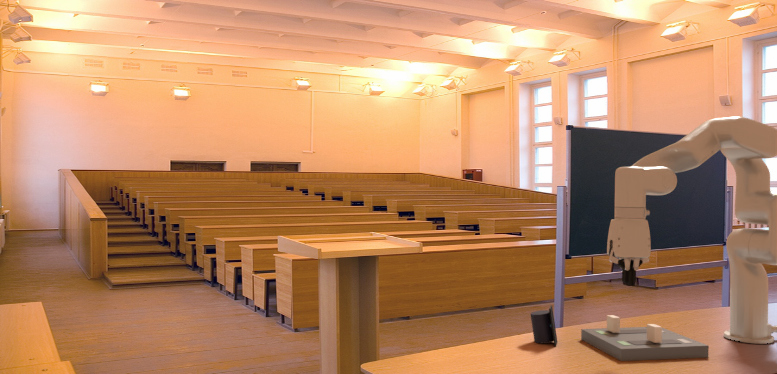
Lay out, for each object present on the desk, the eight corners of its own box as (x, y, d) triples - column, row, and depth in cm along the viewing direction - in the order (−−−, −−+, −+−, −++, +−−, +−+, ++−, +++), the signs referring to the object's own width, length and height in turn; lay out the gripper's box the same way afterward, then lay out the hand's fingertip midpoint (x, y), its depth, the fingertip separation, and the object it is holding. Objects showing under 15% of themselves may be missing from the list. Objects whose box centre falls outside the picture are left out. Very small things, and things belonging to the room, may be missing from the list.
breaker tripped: (653, 339, 169) (653, 323, 169) (661, 342, 165) (661, 326, 165) (646, 339, 168) (646, 324, 168) (654, 342, 165) (654, 327, 165)
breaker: (613, 329, 180) (613, 315, 180) (619, 332, 176) (619, 317, 176) (606, 329, 180) (606, 315, 180) (613, 332, 176) (613, 318, 176)
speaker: (564, 341, 178) (560, 304, 178) (555, 347, 174) (551, 308, 174) (539, 340, 183) (535, 304, 183) (530, 345, 178) (526, 308, 179)
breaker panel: (659, 336, 186) (659, 326, 185) (708, 357, 164) (708, 345, 164) (581, 339, 182) (581, 328, 182) (621, 360, 160) (621, 348, 160)
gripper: (648, 213, 170) (647, 282, 170) (595, 213, 168) (594, 283, 168) (664, 215, 163) (663, 287, 163) (610, 214, 161) (609, 287, 161)
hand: (628, 285), depth 166 cm, fingers closed
